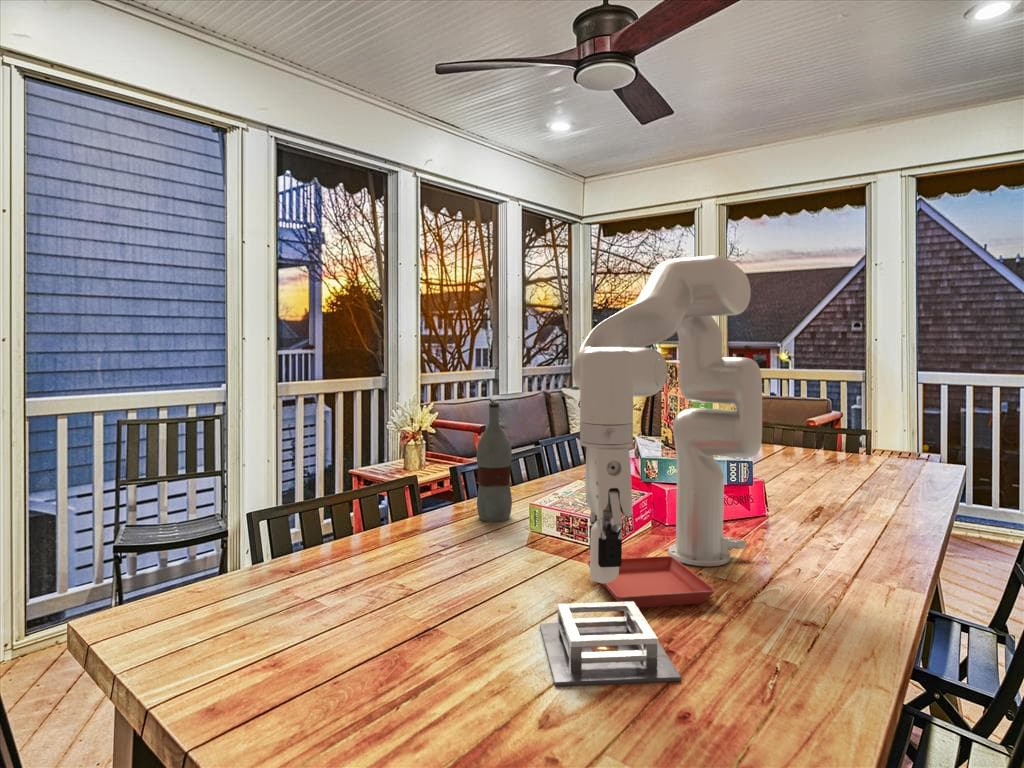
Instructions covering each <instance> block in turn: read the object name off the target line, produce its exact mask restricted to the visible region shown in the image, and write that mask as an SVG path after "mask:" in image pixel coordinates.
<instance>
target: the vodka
mask: <svg viewBox="0 0 1024 768" xmlns="http://www.w3.org/2000/svg"><path fill="white" fill-rule="evenodd" d="M488 406H489V407H488V410H489V411H488V425H487V427H486V428H485V429H484V432H483V433H482V435H481V437H480V439H479V440H478V442H477V448H476V462H477V474H478V475H477V476H478V489H477V497H476V509H477V515H478V518H479V520H481V519H482V520H481V521H483V520H485V521H484V522H488V521H499V522H503V521H502V520H505V521H507V520H506V519H508V518H509V519H510V517H511V514H512V507H513V498H512V491H511V484H510V483H511V481H510V480H511V468H512V457H513V451H512V445H511V441H510V438H509V437H508V435H507V434H506V432H505V431H504V429H503V428H502V425H501V424H500V403H498V402H489V404H488ZM509 519H508V520H509Z"/></svg>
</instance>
